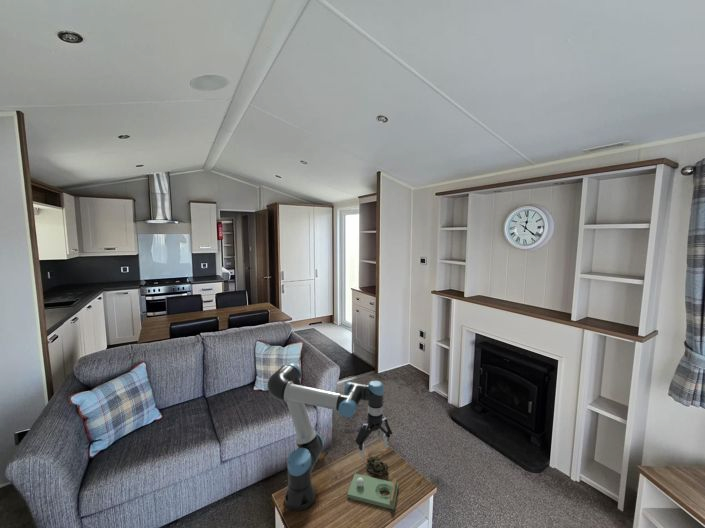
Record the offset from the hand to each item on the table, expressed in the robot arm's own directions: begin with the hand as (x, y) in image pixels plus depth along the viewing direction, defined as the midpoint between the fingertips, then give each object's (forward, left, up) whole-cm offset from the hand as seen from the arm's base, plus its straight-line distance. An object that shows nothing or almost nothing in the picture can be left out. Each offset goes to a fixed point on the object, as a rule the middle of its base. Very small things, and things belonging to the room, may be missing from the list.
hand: (373, 451), depth 160 cm
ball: (-7, 0, -20) cm, 21 cm away
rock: (-1, +16, -24) cm, 29 cm away
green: (0, 0, -24) cm, 24 cm away
